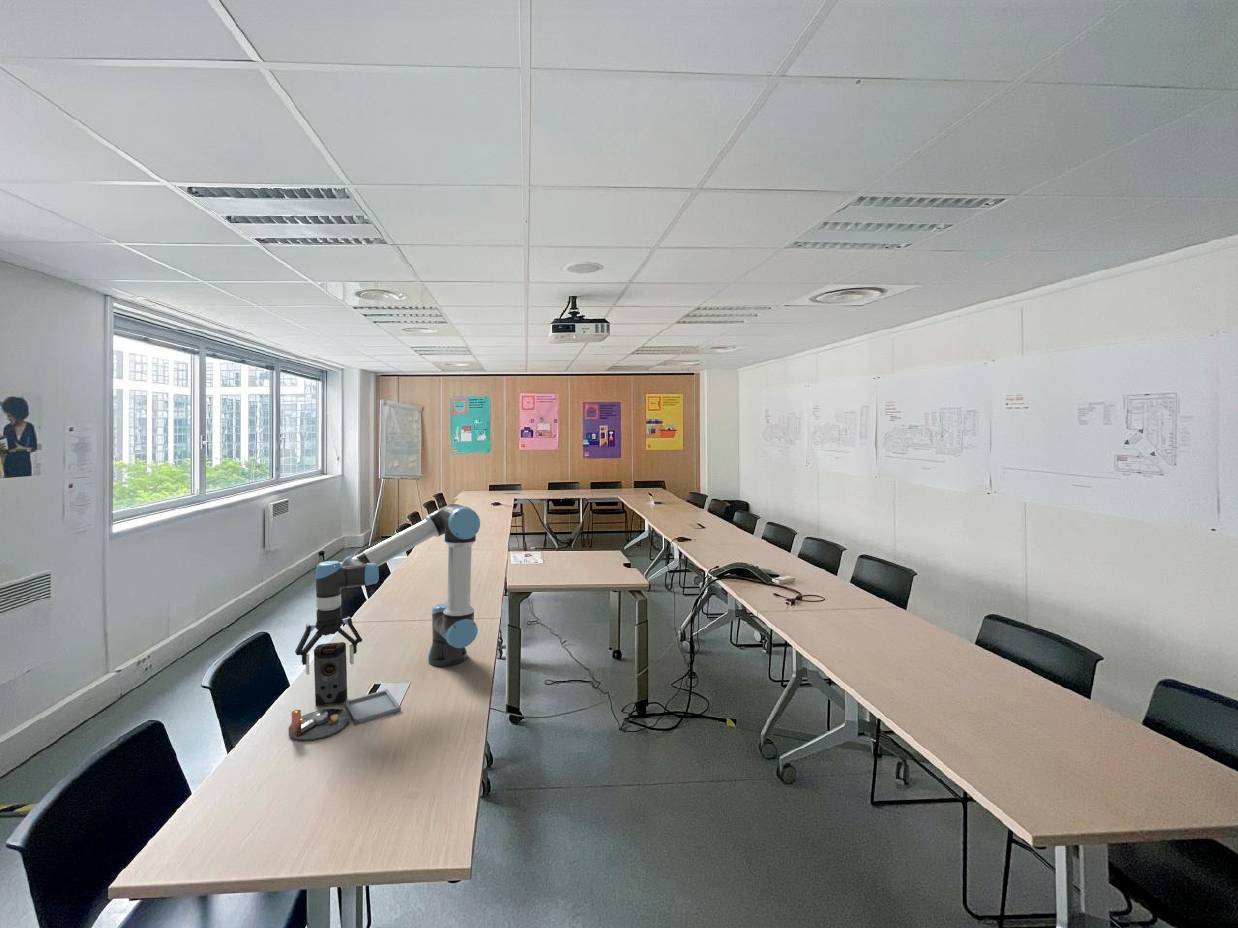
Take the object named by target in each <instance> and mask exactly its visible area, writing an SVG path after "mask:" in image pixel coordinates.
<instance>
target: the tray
mask: <svg viewBox="0 0 1238 928" xmlns="http://www.w3.org/2000/svg"><path fill="white" fill-rule="evenodd" d="M343 705H344V707H345V710H346V711H347V712H348V713H349V714H350V719H351V720H352V722H353V724H354V725H355V726H357V725H361V724H365V723H367V722H371V721H374V720H375V721H376V720H377V719H382V718H384V717H387V716H391V715H394V714H397V713H401V712H402V707H401V705H400V704H399V703H398V702H397V700H396V699H395V697H394V696H393V695H392V693H391V692H390V691H389V690H388V689H387V688H386V689H383V690H379V691H376V692H372V693H369V694H365V695H362V696H357V697H354V698H350V699H347V700H346V701H344V704H343Z"/></svg>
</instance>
